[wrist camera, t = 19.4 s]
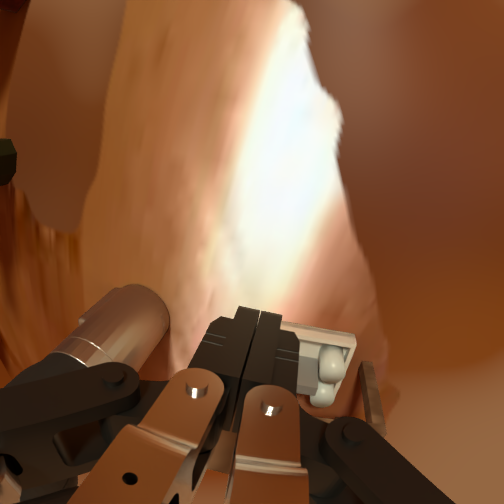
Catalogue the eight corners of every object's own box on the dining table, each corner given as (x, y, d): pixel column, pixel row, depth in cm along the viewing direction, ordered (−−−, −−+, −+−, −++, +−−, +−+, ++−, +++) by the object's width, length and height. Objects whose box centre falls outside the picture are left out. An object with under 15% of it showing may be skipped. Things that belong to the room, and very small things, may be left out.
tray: (254, 373, 45) (246, 406, 39) (266, 317, 42) (258, 348, 35) (333, 387, 44) (335, 421, 38) (354, 334, 41) (360, 366, 34)
